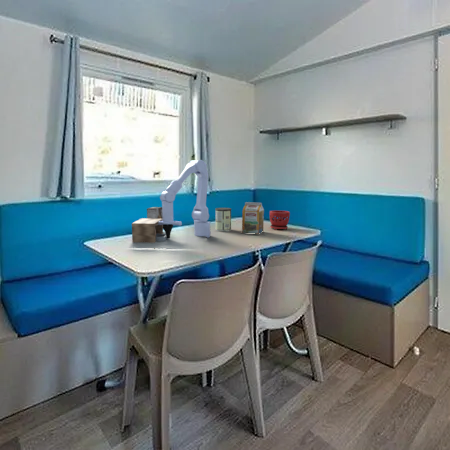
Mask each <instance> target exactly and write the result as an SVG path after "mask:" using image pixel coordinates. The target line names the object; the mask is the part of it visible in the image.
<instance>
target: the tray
mask: <svg viewBox="0 0 450 450" xmlns="http://www.w3.org/2000/svg"><path fill="white" fill-rule="evenodd" d="M167 239H168V238H167V236H166V233H163V234H156V242H165V241H166V240H167Z"/></svg>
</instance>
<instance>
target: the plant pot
mask: <svg viewBox="0 0 450 450" xmlns="http://www.w3.org/2000/svg"><path fill="white" fill-rule="evenodd" d="M290 216H291V212H290V211H288V210H269V221H270V222H269V223H270V224H271V225H270V228H271V229H272V228H274V229H273V230H276V229H285V230H287V229H288V228H289V227H288V224H289V221H290Z"/></svg>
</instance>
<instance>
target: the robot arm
mask: <svg viewBox="0 0 450 450" xmlns="http://www.w3.org/2000/svg"><path fill="white" fill-rule="evenodd" d="M207 166H208V164H207V163H206V162H205V161H204V160H203V159H191V160H189V161H188V163H187V164H186V165H185V168H184V169H183V171H182V172H181V173H180V175H179V176H178V177H177V178H176V179H174V180H172V181H171V182H170V183H169V185H168V186H167V188H165V191H162V192H161V194H160V196H159V199H160V201H161V207H162V216H163V221H159V222H158V223H159V224H158V225H163V232H164V234H166V236H167V239H170V238H171V233H172V230H173V227H174V226H182V224H183V223H182V221H181V220H180V221H178V220H174V201H175V199H176V196H177V194H178V193H179V191H180V190H182V188H183V185H182V184H184V182H185V181H186V180H187V179H188V177H189V176H191V174H195V175H196V176H197V178H198V181H197V189H196V190H197V191H196V203H195V206H194V207H193V210H192V212H191V217H192V219H193V222H194V223H193V229H194V230H193V232H194V233H193V234H194V236H195V237H205V238H210V237H211V221H208V220H209V218H210V214H209V208H208V207H207V193H208V184H209V183H208V182H209V172H208V167H207Z"/></svg>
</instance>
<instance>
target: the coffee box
mask: <svg viewBox="0 0 450 450" xmlns="http://www.w3.org/2000/svg"><path fill="white" fill-rule="evenodd" d="M146 218H154V219H163V216H162V206H159V207H158V206H152V207H148V208H146Z"/></svg>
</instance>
